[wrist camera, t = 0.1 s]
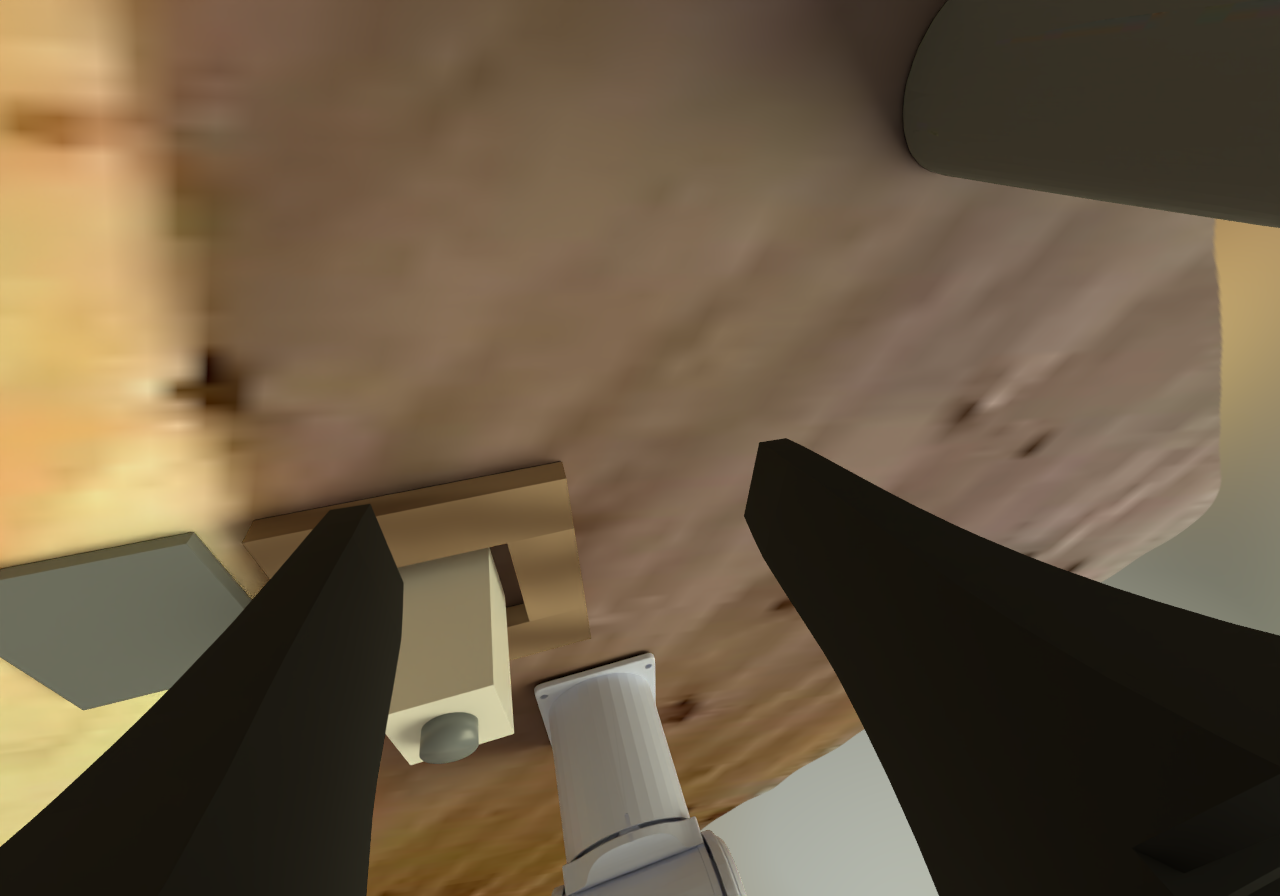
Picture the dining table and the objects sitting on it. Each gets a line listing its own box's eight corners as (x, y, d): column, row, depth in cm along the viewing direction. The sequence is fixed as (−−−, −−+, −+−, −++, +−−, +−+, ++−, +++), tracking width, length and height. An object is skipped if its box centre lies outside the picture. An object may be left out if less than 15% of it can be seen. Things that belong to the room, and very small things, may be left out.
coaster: (292, 648, 23) (288, 659, 22) (92, 696, 21) (83, 710, 21) (194, 532, 18) (186, 543, 17) (-76, 583, 16) (-93, 598, 16)
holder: (587, 620, 28) (591, 638, 27) (368, 678, 25) (364, 700, 25) (561, 461, 21) (566, 478, 20) (253, 520, 18) (242, 542, 17)
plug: (504, 595, 25) (515, 754, 19) (424, 614, 24) (408, 788, 18) (488, 543, 22) (494, 707, 16) (398, 563, 22) (369, 743, 15)
